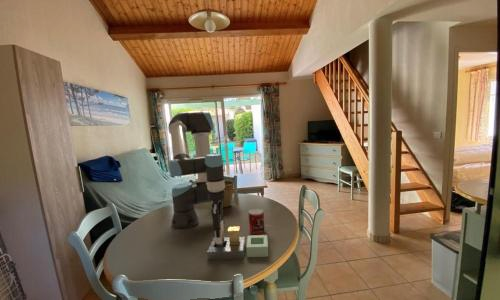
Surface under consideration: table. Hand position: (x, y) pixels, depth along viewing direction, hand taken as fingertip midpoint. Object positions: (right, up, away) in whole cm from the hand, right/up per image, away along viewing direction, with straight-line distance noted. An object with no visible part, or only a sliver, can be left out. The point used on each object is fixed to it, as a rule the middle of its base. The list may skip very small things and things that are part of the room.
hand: (220, 240), depth 105 cm
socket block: (+3, -5, 0) cm, 6 cm away
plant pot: (-4, +2, +58) cm, 59 cm away
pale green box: (+17, -4, 0) cm, 17 cm away
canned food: (+17, -2, +18) cm, 25 cm away
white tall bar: (0, -5, +1) cm, 5 cm away
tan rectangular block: (+7, -4, 0) cm, 8 cm away
